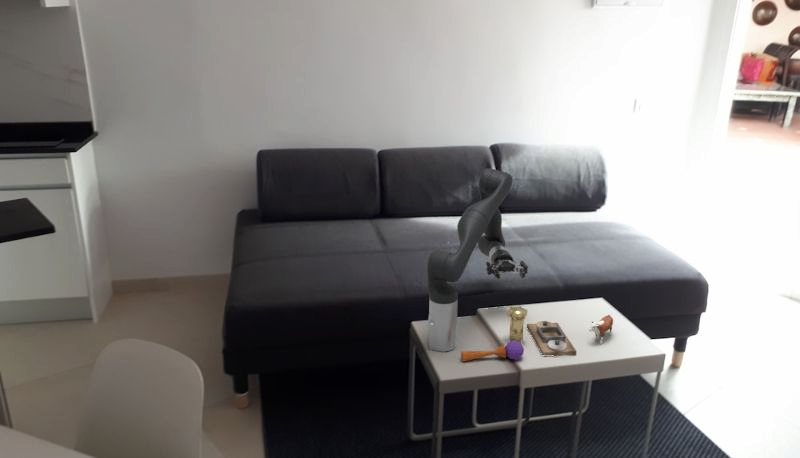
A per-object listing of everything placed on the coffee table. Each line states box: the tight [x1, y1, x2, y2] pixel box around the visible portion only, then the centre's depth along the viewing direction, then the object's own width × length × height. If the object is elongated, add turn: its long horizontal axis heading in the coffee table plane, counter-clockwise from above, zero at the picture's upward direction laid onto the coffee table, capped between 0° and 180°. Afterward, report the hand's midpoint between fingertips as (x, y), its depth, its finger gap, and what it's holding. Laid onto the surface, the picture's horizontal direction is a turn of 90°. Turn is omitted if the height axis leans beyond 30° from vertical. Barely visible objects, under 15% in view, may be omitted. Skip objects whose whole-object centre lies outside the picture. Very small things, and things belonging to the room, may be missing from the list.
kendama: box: [460, 341, 525, 363], centre depth 202 cm, size 6×6×20 cm
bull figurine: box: [588, 314, 614, 345], centre depth 213 cm, size 4×13×8 cm, turn 135°
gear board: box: [526, 320, 577, 357], centre depth 213 cm, size 11×20×4 cm, turn 4°
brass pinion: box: [507, 306, 528, 343], centre depth 211 cm, size 6×6×12 cm
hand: (511, 276), depth 217 cm, fingers open, 8 cm apart
